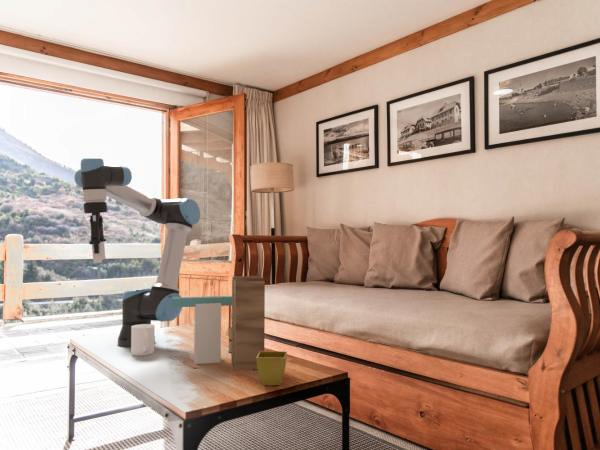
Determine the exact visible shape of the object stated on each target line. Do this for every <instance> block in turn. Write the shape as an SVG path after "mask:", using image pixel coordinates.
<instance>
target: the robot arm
mask: <svg viewBox="0 0 600 450" xmlns="http://www.w3.org/2000/svg"><path fill="white" fill-rule="evenodd" d="M132 175H133V174H132V171H131V170H130V168H129V167H128V166H123V165H111V164H110V165H109V164H108V165H107V164H105V163H104V159H103V158H100V157H85V158H83V159H81V160H80V169H78V170H77V171H76V172H75V174H74V183H76V186H78V187H79V188H81V189H82V192H81V194H80V196H83V200H82V201H83V202H84V203H83V211H84V214H91V215H90V216H89V217H90V218H89V223H90V241H89V245H91V250H92V262H93V263H92V264H102V263H103V260H106V248H105V242H107V238H105V236H104V220H103V219H104V218H103V216H102V214H101V213H107V212H108V207H107V205H108V204H107V202H106V201H107V197H108V198H110V199H112V200H114V201H116V202H118V203H120V204H122V205H124V206H127V207H129V208H130V209H133V210H135V211H137V212H139V214H140V216H141V217H143V218H145V219H148V220H150V221H152V222H155V223H158V224H161V225H164V226H165V228H166V229H167V232H166V237H165V240H164V245H163V250H162V255H161V260H160V264H159V268H158V273H157V278H156V281H155V284H152V286H151V287H150V288H139V289H131V290H126V291H124V292H123V294H122V300H121V301H122V304H121V305H122V311H121V313H122V320H121V321H122V324H121V325H122V327H121V328H120V332H119V335H118V337H117V345H118V346H120V347H129V348H131V327H132V326H134V325H139V324H152V321H157V322H171V321H174V320H175V319H176V318H178V317H179V315H180V314H181V312H182V309H183V307H173V308H172V298H174V297H182V296H181V295H180V289H179V288H178V281H179V277H180V272H181V267H182V261H183V259H184V258H183V257H184V251H185V247H186V242H187V239H188V237H187V236H188V234H189V233H190V232H192V230H193V226H194V225H197V224H198V223H199V222H200V219H201V209H200V207H199V205H198V203H197V202H196V201H195V200H194V199H193V198H189V197H188V198H187V197H186V198H185V197H182V198H166V199H165V198H164V199H163V198H156V197H154V196H150V195H145V194H143V193H142V192H140V191H137V190H136V189H134V188H132V187H130V186H128V185H129V184H130V183H131V182H132V177H133V176H132ZM155 338H156V336H155V335H154V343H155V342H156V339H155Z"/></svg>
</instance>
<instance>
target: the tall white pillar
mask: <svg viewBox="0 0 600 450" xmlns="http://www.w3.org/2000/svg"><path fill="white" fill-rule="evenodd" d="M193 320H194V326H193V328H194V331H193V332H194V333H193V336H194V337H193V360H194V364H195V365H199V364H200V365H201V364H215V363H221V358H222V355H221V354H222V353H221V351H222V349H221V346H222V338H221V337H222V306H221V303H209V304H196V307H194V319H193Z"/></svg>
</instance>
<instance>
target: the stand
mask: <svg viewBox="0 0 600 450" xmlns="http://www.w3.org/2000/svg"><path fill="white" fill-rule="evenodd" d="M265 283H266V281H265V277H264V276H263V277H262V276H260V275H249V276H248V275H247V276H245V275H244V276H240V275H239V276H236V275H235V276H232V279H231V296H232V306H231V327H232V345H231V353H230V354H231V355H230V356H231V358H230V359H231V361H230V362H231V367H232V368H233V370H234V371H235V372H241V370H244V371H252V370H251V369H257V359H256V357H257V355H258V354H259V352H260V351H265V324H266V323H265V321H266V320H265V317H266V316H265V311H266V310H265V309H266V307H265V305H266V304H265V303H266V301H265V298H266V296H265V295H266V294H265V292H266V291H265V289H266V288H265V287H266V286H265V285H266V284H265Z"/></svg>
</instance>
